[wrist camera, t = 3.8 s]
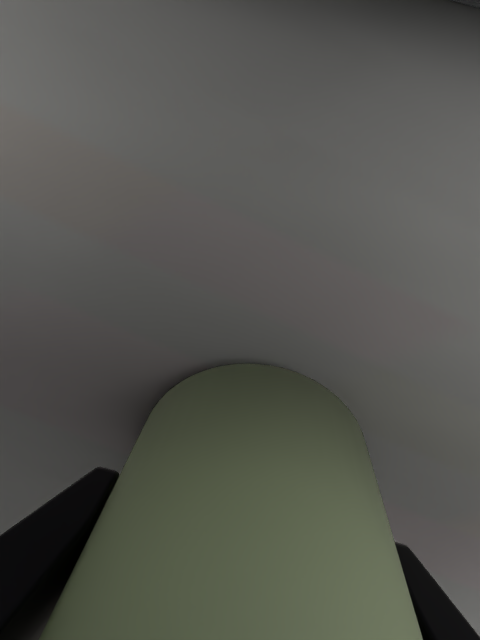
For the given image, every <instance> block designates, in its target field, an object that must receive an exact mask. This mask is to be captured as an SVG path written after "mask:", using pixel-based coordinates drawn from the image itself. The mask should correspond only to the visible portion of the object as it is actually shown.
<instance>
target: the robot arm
mask: <svg viewBox="0 0 480 640" xmlns="http://www.w3.org/2000/svg"><path fill="white" fill-rule="evenodd" d="M118 478H119V473H118V472H117V471H115V470H111V469H107V468H103V467H97V468H95V469H94V470H92V471H91V472H89V473H88V474H87V475H85V476H84V477H82V478H81V479H80V480H78V481H77V482H75V483H74V484H72V485H71V486H70V487H68V488H67V489H65V490H64V491H63V492H61V493H60V494H58V495H57V496H55V497H54V498H53V499H51V500H50V501H48V502H47V503H46V504H44V505H43V506H41V507H40V508H38V509H37V510H36V511H34V512H33V513H31V514H30V515H29V516H27V517H26V518H24V519H23V520H21V521H20V522H19V523H17V524H16V525H14V526H13V527H12V528H10V529H9V530H7V531H6V532H4V533H3V534H2V535H0V640H39V638H40V636H41V634H42V632H43V630H44V628H45V626H46V624H47V622H48V619H49V617H50V615H51V613H52V611H53V609H54V607H55V605H56V603H57V601H58V599H59V597H60V595H61V593H62V591H63V589H64V587H65V585H66V583H67V581H68V579H69V577H70V575H71V573H72V571H73V569H74V567H75V565H76V563H77V561H78V559H79V557H80V555H81V553H82V551H83V549H84V547H85V545H86V542H87V540H88V538H89V536H90V534H91V532H92V530H93V528H94V526H95V524H96V522H97V520H98V518H99V516H100V514H101V512H102V510H103V508H104V506H105V504H106V502H107V500H108V498H109V496H110V494H111V492H112V490H113V488H114V486H115V484H116V482H117V480H118ZM395 546H396V549H397V552H398V556H399V559H400V563H401V566H402V570H403V573H404V576H405V580H406V583H407V587H408V590H409V594H410V597H411V600H412V604H413V607H414V611H415V614H416V618H417V621H418V624H419V628H420V631H421V635H422V638H423V640H480V637H479V635H478V634H477V633H476V632H475V630H474V629H473V628H472V627H471V625H470V624H469V623H468V622H467V620H466V619H465V618H464V617H463V615H462V614H461V613H460V611H459V610H458V609H457V608H456V606H455V605H454V604H453V603H452V601H451V600H450V599H449V598H448V596H447V595H446V594H445V593H444V591H443V590H442V589H441V587H440V586H439V585H438V584H437V582H436V581H435V580H434V579H433V577H432V576H431V575H430V574H429V572H428V571H427V570H426V569H425V567H424V566H423V565H422V564H421V562H420V561H419V560H418V558H417V557H416V556H415V555H414V553H413V552H412V551H411V550H410V549H409V548H408V547H407V546H406V545H404V544H400V543H396V542H395Z"/></svg>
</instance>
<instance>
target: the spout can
mask: <svg viewBox="0 0 480 640" xmlns="http://www.w3.org/2000/svg"><path fill="white" fill-rule="evenodd" d="M39 640H423V638H422V635H421V631H420V628H419V624H418V621H417V618H416V614H415V611H414V607H413V604H412V600H411V597H410V594H409V590H408V587H407V583H406V580H405V576H404V573H403V570H402V566H401V563H400V559H399V556H398V552H397V549H396V546H395V542H394V539H393V535H392V532H391V528H390V525H389V522H388V518H387V515H386V511H385V508H384V505H383V501H382V498H381V494H380V491H379V487H378V484H377V481H376V477H375V474H374V470H373V467H372V463H371V460H370V457H369V453H368V450H367V446H366V443H365V440H364V437H363V433H362V431H361V429H360V427H359V425H358V423H357V421H356V419H355V418H354V416H353V415H352V413H351V412H350V411H349V409H348V408H347V407H346V406H345V405H344V404H343V403H342V401H341V400H340V399H339V398H338V397H337V396H335V395H334V394H333V393H332V392H330V391H329V390H328V389H327V388H325V387H324V386H322V385H320V384H319V383H317V382H316V381H314V380H312V379H310V378H308V377H306V376H304V375H301V374H299V373H297V372H293V371H290V370H287V369H284V368H280V367H275V366H270V365H262V364H232V365H226V366H219V367H215V368H212V369H208V370H205V371H202V372H200V373H197V374H195V375H193V376H190V377H188V378H187V379H185V380H183V381H182V382H180V383H178V384H177V385H176V386H174V387H173V388H172V389H171V390H169V391H168V392H167V393H166V394H165V395H164V396H163V397H162V398H161V399H160V400H159V402H158V403H157V404H156V406H155V407H154V409H153V410H152V412H151V413H150V415H149V417H148V419H147V421H146V423H145V425H144V427H143V429H142V431H141V433H140V435H139V437H138V439H137V441H136V443H135V445H134V447H133V449H132V451H131V453H130V455H129V457H128V459H127V461H126V463H125V465H124V468H123V470H122V472H121V474H120V476H119V478H118V480H117V482H116V484H115V486H114V488H113V490H112V492H111V494H110V496H109V498H108V500H107V502H106V504H105V506H104V508H103V510H102V512H101V514H100V516H99V518H98V520H97V522H96V524H95V526H94V528H93V530H92V532H91V534H90V536H89V538H88V540H87V542H86V545H85V547H84V549H83V551H82V553H81V555H80V557H79V559H78V561H77V563H76V565H75V567H74V569H73V571H72V573H71V575H70V577H69V579H68V581H67V583H66V585H65V587H64V589H63V591H62V593H61V595H60V597H59V599H58V601H57V603H56V605H55V607H54V609H53V611H52V613H51V615H50V617H49V619H48V622H47V624H46V626H45V628H44V630H43V632H42V634H41V636H40V638H39Z"/></svg>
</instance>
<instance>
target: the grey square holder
mask: <svg viewBox="0 0 480 640" xmlns="http://www.w3.org/2000/svg"><path fill="white" fill-rule="evenodd" d="M450 1H454V2H458V3H462V4H465V5H469V6H473V7H477V8H480V0H450Z"/></svg>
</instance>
